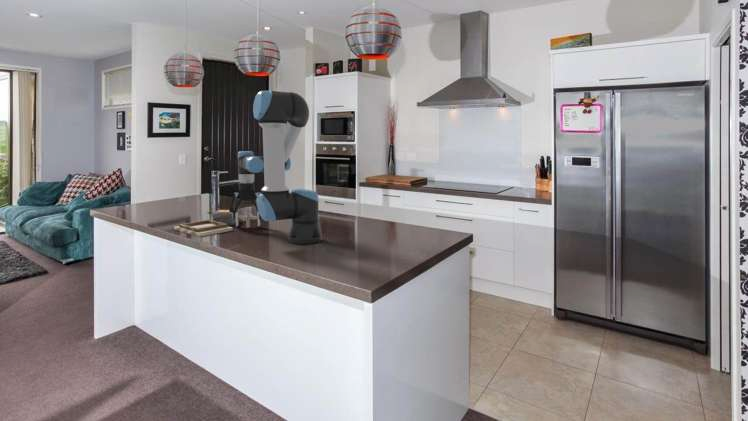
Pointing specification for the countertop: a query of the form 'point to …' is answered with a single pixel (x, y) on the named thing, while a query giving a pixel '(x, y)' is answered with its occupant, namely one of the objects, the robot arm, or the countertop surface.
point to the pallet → (203, 228)
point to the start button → (223, 211)
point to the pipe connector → (247, 217)
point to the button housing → (224, 218)
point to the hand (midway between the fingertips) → (248, 225)
